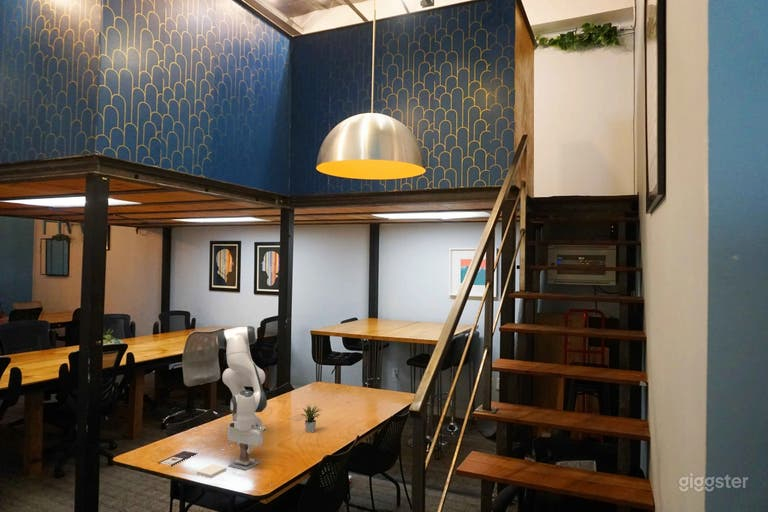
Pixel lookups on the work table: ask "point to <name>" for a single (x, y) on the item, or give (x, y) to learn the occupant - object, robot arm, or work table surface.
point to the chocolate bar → (177, 458)
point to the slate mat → (244, 467)
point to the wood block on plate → (244, 456)
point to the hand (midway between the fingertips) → (244, 452)
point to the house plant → (310, 418)
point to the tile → (211, 471)
